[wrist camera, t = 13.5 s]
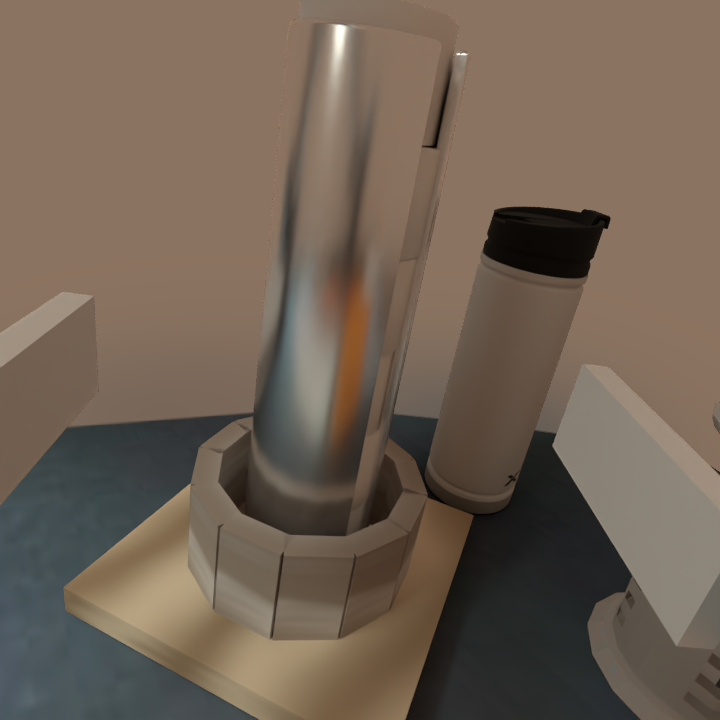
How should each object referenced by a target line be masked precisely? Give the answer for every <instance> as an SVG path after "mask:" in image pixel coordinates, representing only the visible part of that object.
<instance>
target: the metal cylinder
mask: <svg viewBox="0 0 720 720" xmlns="http://www.w3.org/2000/svg"><path fill="white" fill-rule="evenodd" d="M458 29H459V26H458V24H457V23H456V21H455V20H454V19H452V18H451V17H450V16H448V15H446V14H444V13H441V12H439V11H436V10H433V9H430V8H427V7H424V6H421V5H418V4H415V3H410V2H406V1H402V0H300V5H299V15H298V19H295V20H293V21H292V22H291V23H290V24H289V29H288V40H287V50H286V62H285V73H284V83H283V94H282V105H281V116H280V127H279V138H278V149H277V160H276V171H275V182H274V193H273V204H272V216H271V225H270V237H269V249H268V259H267V269H266V280H265V292H264V302H263V313H262V324H261V335H260V347H259V358H258V368H257V380H256V390H255V402H254V412H253V423H252V434H251V445H250V456H249V467H248V478H247V489H246V500H245V511H244V515H246V516H248V517H250V518H253V519H255V520H257V521H259V522H262V523H264V524H266V525H268V526H271V527H273V528H275V529H278V530H280V531H282V532H284V533H287V534H289V535H312V536H348V535H350V534H353V533H355V532H357V531H360V530H362V529H364V528H367V527H369V524H370V519H371V514H372V510H373V505H374V500H375V496H376V491H377V487H378V482H379V477H380V473H381V468H382V464H383V459H384V454H385V450H386V445H387V440H388V436H389V431H390V427H391V422H392V417H393V413H394V407H395V404H396V399H397V394H398V390H399V385H400V380H401V376H402V371H403V367H404V362H405V357H406V353H407V348H408V344H409V339H410V334H411V330H412V325H413V320H414V316H415V311H416V306H417V302H418V297H419V293H420V288H421V284H422V279H423V274H424V270H425V265H426V260H427V255H428V251H429V246H430V242H431V237H432V233H433V228H434V223H435V219H436V214H437V209H438V205H439V200H440V196H441V191H442V187H443V182H444V177H445V172H446V168H447V164H448V159H449V153H450V150H451V145H452V140H453V136H454V131H455V127H456V121H457V117H458V113H459V108H460V103H461V99H462V94H463V89H464V85H465V80H466V76H467V71H468V66H469V62H470V56H469V54H468V53H467V52H466V51H463V50H460V51H458V52H457V53H456V56H453V54H454V49H455V44H456V39H457V34H458Z"/></svg>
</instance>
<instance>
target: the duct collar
mask: <svg viewBox="0 0 720 720" xmlns="http://www.w3.org/2000/svg"><path fill="white" fill-rule="evenodd" d="M252 423H253V417H249V418H244V419H240V420H235V422H232V423H230V424H229V425H228V426H226V427H225V428H224V429H222V430H221V431H220V432H218V433H217V434H216V435H214V436H213V437H212V438H210V439H209V440H208V441H206V442H205V443H203V444H202V445H201V446H200V448H199V450H198V454H197V459H196V463H195V467H194V472H193V476H192V480H191V484H189V485H188V486H187V487H186V488H184V489H183V490H182V491H181V492H180V493H178V494H177V495H176V496H175V497H173V498H172V499H171V500H170V501H169V502H167V503H166V504H165V505H164V506H162V507H161V508H160V509H159V510H158V511H156V512H155V513H154V514H153V515H151V516H150V517H149V518H148V519H147V520H145V521H144V522H143V523H142V524H140V525H139V526H138V527H137V528H136V529H134V530H133V531H132V532H131V533H129V534H128V535H127V536H126V537H125V538H123V539H122V540H121V541H120V542H118V543H117V544H116V545H115V546H114V547H112V548H111V549H110V550H109V551H107V552H106V553H105V554H104V555H103V556H101V557H100V558H99V559H98V560H96V561H95V562H94V563H93V564H92V565H90V566H89V567H88V568H87V569H85V570H84V571H83V572H82V573H81V574H79V575H78V576H77V577H76V578H74V579H73V580H72V581H71V582H70V583H68V584H67V585H66V586H65V587H63V589H64V600H65V611H67V612H69V613H70V614H72V615H74V616H76V617H78V618H79V619H81V620H83V621H85V622H86V623H88V624H90V625H92V626H94V627H95V628H97V629H99V630H101V631H102V632H104V633H106V634H108V635H110V636H111V637H113V638H115V639H117V640H118V641H120V642H122V643H124V644H126V645H127V646H129V647H131V648H133V649H134V650H136V651H138V652H140V653H142V654H143V655H145V656H147V657H149V658H150V659H152V660H154V661H156V662H158V663H159V664H161V665H163V666H165V667H167V668H168V669H170V670H172V671H174V672H175V673H177V674H179V675H181V676H183V677H184V678H186V679H188V680H190V681H191V682H193V683H195V684H197V685H199V686H200V687H202V688H204V689H206V690H207V691H209V692H211V693H213V694H215V695H216V696H218V697H220V698H222V699H223V700H225V701H227V702H229V703H231V704H232V705H234V706H236V707H238V708H239V709H241V710H243V711H245V712H247V713H248V714H250V715H252V716H254V717H256V718H257V719H259V720H406V717H407V714H408V711H409V708H410V705H411V702H412V699H413V696H414V693H415V690H416V687H417V684H418V681H419V678H420V675H421V672H422V669H423V666H424V663H425V660H426V657H427V654H428V651H429V649H430V646H431V643H432V640H433V637H434V634H435V631H436V628H437V625H438V622H439V619H440V616H441V613H442V610H443V607H444V604H445V601H446V598H447V595H448V592H449V589H450V586H451V583H452V580H453V577H454V574H455V571H456V568H457V565H458V562H459V559H460V556H461V553H462V550H463V547H464V544H465V541H466V538H467V535H468V532H469V529H470V526H471V523H472V520H473V516H474V515H471V514H468V513H466V512H463V511H461V510H458V509H456V508H453V507H450V506H448V505H445V504H443V503H440V502H437V501H435V500H432V499H430V498H427V497H428V494H427V491H426V488H425V486H424V483H423V480H422V477H421V475H420V472H419V469H418V467H417V464H416V461H415V460H413V459H414V458H413V457H412V456H411V455H409V454H408V453H407V452H406V451H404V450H403V449H402V448H401V447H399V446H398V445H397V444H396V443H395V442H393V441H392V440H391V439H390V438H388V440H387V445H386V450H385V454H384V459H383V464H382V468H381V473H380V477H379V482H378V487H377V491H376V496H375V500H374V505H373V510H372V514H371V519H370V524H369V527H367V528H364V529H362V530H360V531H357V532H355V533H353V534H350V535H348V536H312V535H289V534H287V533H284V532H282V531H280V530H278V529H275V528H273V527H271V526H268V525H266V524H264V523H262V522H259V521H257V520H255V519H253V518H250V517H248V516H246V515H244V511H245V500H246V489H247V478H248V467H249V456H250V445H251V434H252Z"/></svg>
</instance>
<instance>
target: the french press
mask: <svg viewBox="0 0 720 720" xmlns="http://www.w3.org/2000/svg"><path fill="white" fill-rule="evenodd" d="M713 422H714V426H715V428H716V429H717V431H718V432H719V433H720V402H719V403H715V406H714V412H713ZM587 626H588V632H589V638H590V644H591V650H592V655H593V657H594V658H595V660H596V662H597V664H598V665H599V667H600V669H601V671H602V672H603V674H604V676H605V678H606V679H607V681H608V683H609V685H610V686H611V688H612V690H613V691H614V692H615V693H616V694H617V695H618V696H619V698H620V699H621V700H622V701H623V702H624V703H625V704H626V705H627V706H628V707H629V708H630V709H631V710H632V711H633V712H634V713H635V714H636V715H637V716H638V717H639V718H640V719H641V720H720V689H719V688H718V687H716V686H715V685H716V683H717V682H718V680H719V678H720V641H719V643H718V644H717V646H716V648H715V649H714V650H713V649H702V648H690V647H679V646H676V645H675V643H674V642H673V640H672V638H671V637H670V635H669V633H668V632H667V630H666V629H665V627H664V625H663V624H662V622H661V621H660V619H659V617H658V616H657V614H656V612H655V611H654V609H653V608H652V606H651V604H650V603H649V601H648V600H647V598H646V596H645V595H644V593H643V592H642V590H641V588H640V587H639V585H638V583H637V582H635V581H634V577H632V578H631V580H630V582H629V585H628V587H627V589H626V591H625V593H615V594H613V595H611V596H609V597H607V598H605V599H603V600H601V601H599V602H598V603H596V605H595V607H594V609H593V612H592V614H591V616H590V619H589V621H588V623H587Z"/></svg>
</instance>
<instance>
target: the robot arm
mask: <svg viewBox="0 0 720 720" xmlns="http://www.w3.org/2000/svg"><path fill="white" fill-rule="evenodd" d="M97 391H98V369H97V349H96V328H95V305H94V296H91V295H83V294H76V293H69V292H62V293H60V294H59V295H57V296H56V297H54V298H53V299H51V300H50V301H48V302H47V303H45V304H44V305H42V306H41V307H39V308H38V309H36V310H35V311H33V312H32V313H30V314H28V315H27V316H25V317H24V318H22V319H21V320H19V321H18V322H17V323H15V324H13V325H12V326H10V327H9V328H7V329H6V330H4V331H3V332H1V333H0V505H1V504H2V503H3V501H4V500H5V499H6V498H7V497H8V496H9V494H10V493H11V492H12V491H13V490H14V489H15V487H16V486H17V485H18V484H19V483H20V482H21V480H22V479H23V478H24V477H25V476H26V475H27V473H28V472H29V471H30V470H31V469H32V468H33V466H34V465H35V464H36V463H37V462H38V461H39V459H40V458H41V457H42V456H43V455H44V454H45V452H46V451H47V450H48V449H49V448H50V447H51V445H52V444H53V443H54V442H55V441H56V440H57V438H58V437H59V436H60V435H61V434H62V432H63V431H64V430H65V429H66V428H67V427H68V425H69V424H70V423H71V422H72V421H73V420H74V418H75V417H76V416H77V415H78V414H79V413H80V411H81V410H82V409H83V408H84V407H85V406H86V404H87V403H88V402H89V401H90V400H91V399H92V397H93V396H94V395H95V394H96V393H97ZM552 446H553V448H554V450H555V451H556V453H557V454H558V456H559V458H560V459H561V461H562V462H563V464H564V466H565V467H566V469H567V471H568V472H569V474H570V475H571V477H572V479H573V480H574V482H575V483H576V485H577V487H578V488H579V490H580V491H581V493H582V495H583V496H584V498H585V500H586V501H587V503H588V504H589V506H590V508H591V509H592V511H593V512H594V514H595V516H596V517H597V519H598V521H599V522H600V524H601V525H602V527H603V529H604V530H605V532H606V533H607V535H608V537H609V538H610V540H611V541H612V543H613V545H614V546H615V548H616V550H617V551H618V553H619V554H620V556H621V558H622V559H623V561H624V562H625V564H626V566H627V567H628V569H629V571H630V572H631V574H632V575H633V577H634V579H635V580H636V582H637V583H638V585H639V587H640V588H641V590H642V592H643V593H644V595H645V596H646V598H647V600H648V601H649V603H650V604H651V606H652V608H653V609H654V611H655V612H656V614H657V616H658V617H659V619H660V621H661V622H662V624H663V625H664V627H665V629H666V630H667V632H668V633H669V635H670V637H671V638H672V640H673V642H674V643H675V645H676V646H679V647H690V648H702V649H713V650H714V649H715V648H716V646H717V644H718V643H719V641H720V472H719V471H717V470H716V469H714V468H713V467H711V466H709V465H708V464H707V463H706V462H705V461H704V460H703V459H702V458H701V457H700V456H699V455H698V454H697V453H696V452H695V451H694V450H693V449H692V448H691V447H690V446H689V445H688V444H687V443H686V442H685V441H684V440H683V439H682V438H681V437H680V436H679V435H677V433H676V432H675V431H674V430H673V429H672V428H671V427H670V426H668V424H667V423H665V422H664V421H663V420H662V419H661V418H660V417H659V416H658V415H657V414H656V413H655V412H654V411H653V410H652V409H651V408H650V407H649V406H648V405H647V404H646V403H645V402H644V401H643V400H642V399H641V398H640V397H639V396H638V395H637V394H636V393H635V392H634V391H633V390H632V389H631V388H630V387H629V386H628V385H627V384H625V382H623V381H622V380H621V379H620V378H619V377H618V376H617V375H616V374H615V373H614V372H613V371H612V370H611V369H610V368H609V367H604V366H597V365H590V364H582V367H581V369H580V372H579V375H578V378H577V380H576V383H575V386H574V388H573V391H572V394H571V397H570V399H569V402H568V405H567V407H566V410H565V413H564V416H563V418H562V421H561V424H560V426H559V429H558V432H557V434H556V437H555V440H554V443H553V445H552ZM715 686H716V687H718V688H719V689H720V678H719V680H718V682H717V683H716V685H715Z"/></svg>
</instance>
